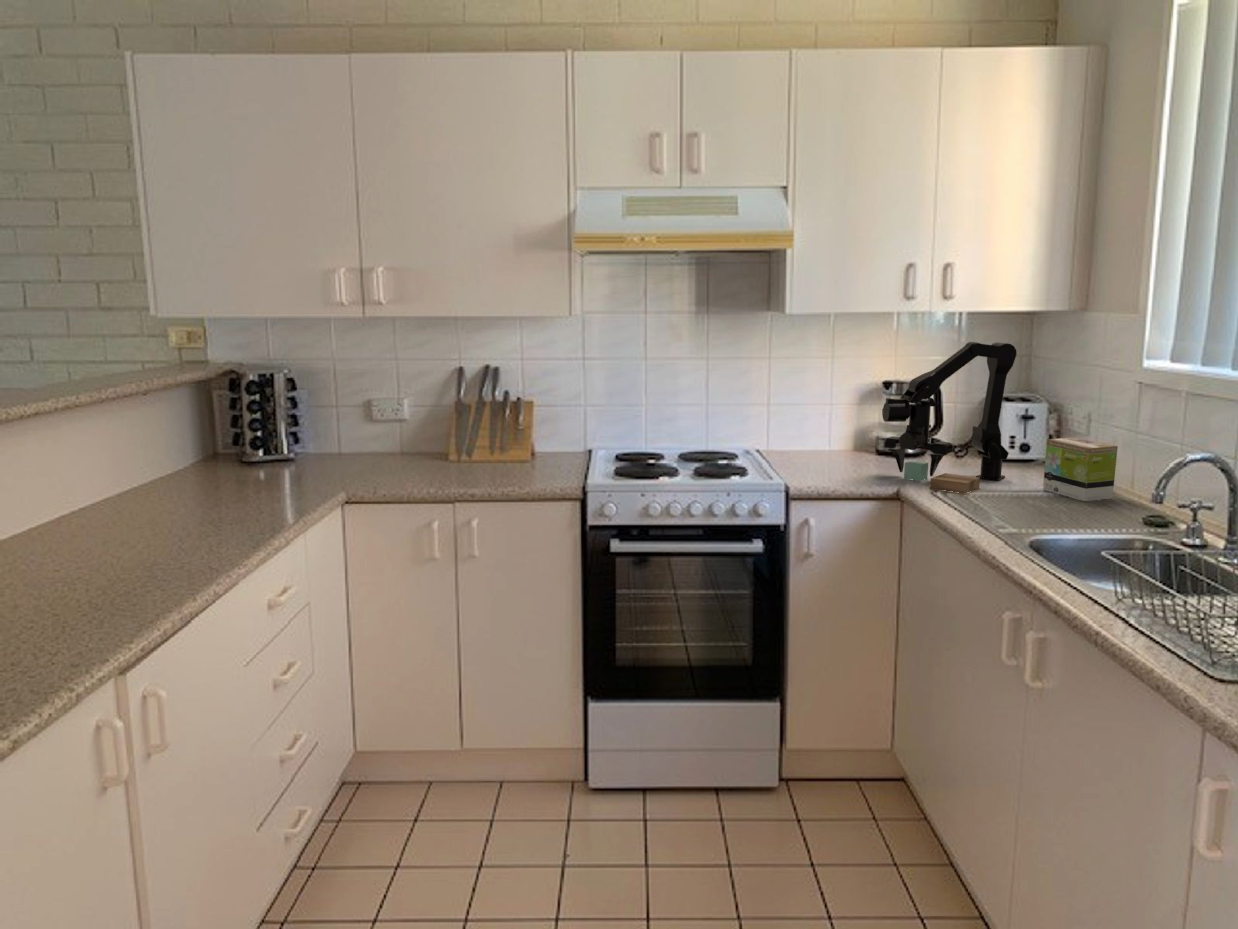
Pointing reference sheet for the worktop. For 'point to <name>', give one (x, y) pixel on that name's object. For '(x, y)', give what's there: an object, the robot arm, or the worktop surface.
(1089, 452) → the tea box
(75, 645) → the worktop surface
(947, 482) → the walnut block
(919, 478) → the teal cube
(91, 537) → the worktop surface
